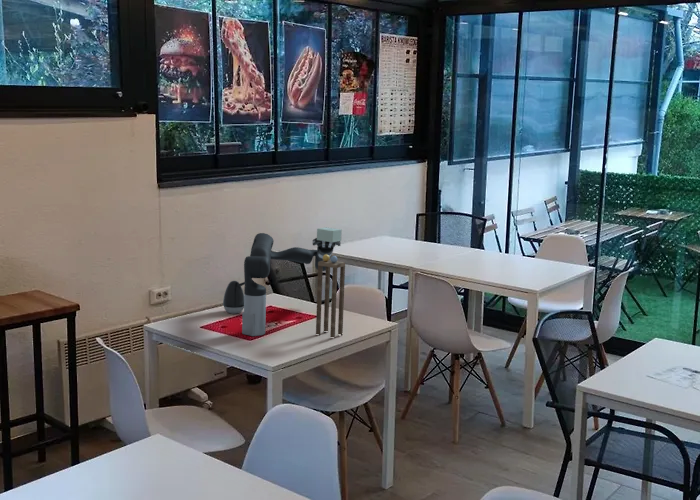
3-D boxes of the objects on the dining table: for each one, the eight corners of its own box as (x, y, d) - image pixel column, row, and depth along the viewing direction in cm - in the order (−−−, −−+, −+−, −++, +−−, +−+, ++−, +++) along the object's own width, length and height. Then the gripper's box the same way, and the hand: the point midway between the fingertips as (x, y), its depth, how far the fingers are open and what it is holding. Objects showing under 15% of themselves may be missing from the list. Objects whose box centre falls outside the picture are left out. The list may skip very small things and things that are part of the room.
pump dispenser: (247, 314, 367) (248, 282, 364) (225, 315, 363) (226, 283, 360) (242, 309, 376) (242, 277, 373) (220, 310, 372) (221, 278, 369)
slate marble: (335, 263, 329) (332, 257, 328) (330, 264, 331) (327, 258, 330) (340, 260, 331) (336, 254, 330) (335, 261, 333) (332, 254, 332)
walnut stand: (332, 339, 332) (335, 264, 327) (315, 335, 337) (318, 261, 331) (342, 335, 338) (345, 262, 332) (325, 331, 343) (327, 259, 337)
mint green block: (332, 242, 343) (333, 230, 342) (305, 238, 351) (306, 227, 350) (352, 238, 356) (352, 227, 355) (326, 234, 364) (326, 224, 363)
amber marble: (328, 261, 331) (325, 255, 330) (323, 263, 333) (320, 257, 332) (332, 258, 333) (328, 252, 333) (327, 260, 335) (323, 254, 335)
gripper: (310, 241, 370) (312, 227, 354) (339, 241, 372) (343, 228, 355) (310, 256, 368) (312, 243, 351) (339, 256, 369) (343, 243, 353)
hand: (328, 235), depth 353 cm, fingers closed on mint green block
